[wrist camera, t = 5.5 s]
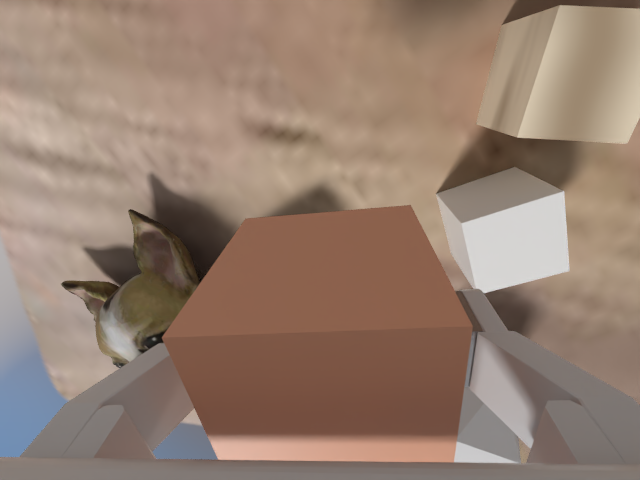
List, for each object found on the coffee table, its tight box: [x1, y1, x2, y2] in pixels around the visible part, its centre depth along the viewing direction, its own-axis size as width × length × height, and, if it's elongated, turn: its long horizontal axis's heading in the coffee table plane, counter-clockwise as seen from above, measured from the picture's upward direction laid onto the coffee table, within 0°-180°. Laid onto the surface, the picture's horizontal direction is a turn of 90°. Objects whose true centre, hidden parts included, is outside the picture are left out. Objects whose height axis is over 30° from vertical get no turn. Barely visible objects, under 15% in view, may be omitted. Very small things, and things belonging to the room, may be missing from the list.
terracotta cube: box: [162, 205, 473, 462], centre depth 8 cm, size 5×5×5 cm
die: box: [454, 387, 521, 463], centre depth 25 cm, size 8×9×10 cm
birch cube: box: [476, 5, 640, 144], centre depth 16 cm, size 5×5×5 cm
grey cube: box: [436, 167, 569, 293], centre depth 19 cm, size 5×5×5 cm
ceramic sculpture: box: [61, 209, 200, 368], centre depth 23 cm, size 11×9×15 cm
